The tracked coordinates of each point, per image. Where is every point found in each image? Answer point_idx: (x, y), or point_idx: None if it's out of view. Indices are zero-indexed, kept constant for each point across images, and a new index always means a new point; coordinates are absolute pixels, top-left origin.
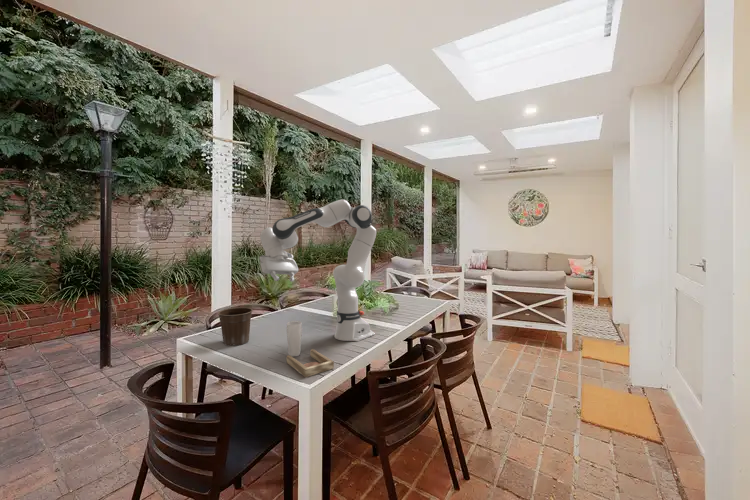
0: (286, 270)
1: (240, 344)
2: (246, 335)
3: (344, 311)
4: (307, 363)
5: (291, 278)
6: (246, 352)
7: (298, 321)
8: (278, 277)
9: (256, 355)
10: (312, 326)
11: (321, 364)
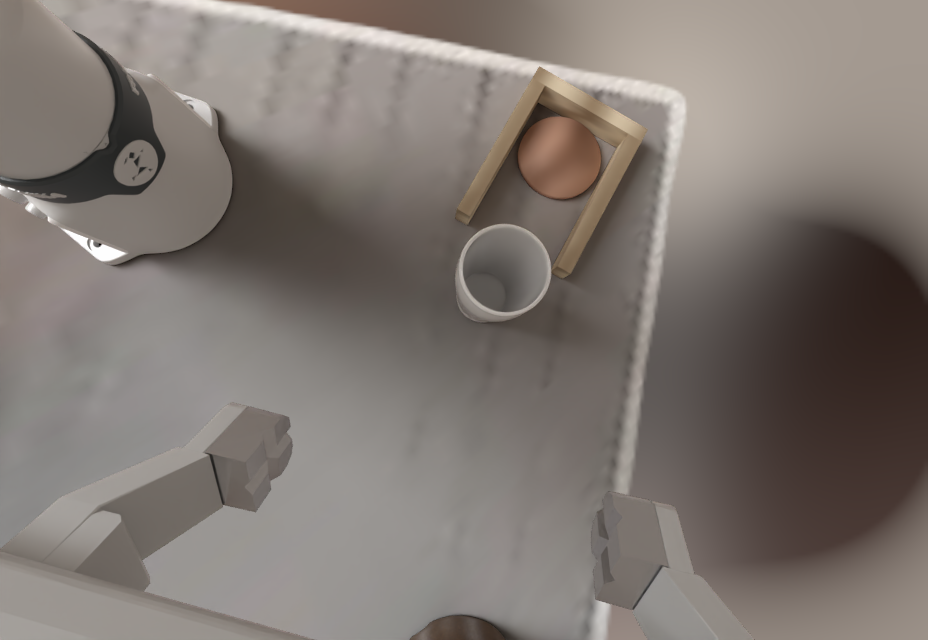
0: (264, 634)
1: (484, 621)
2: (454, 637)
3: (102, 84)
4: (546, 189)
5: (263, 447)
6: (543, 516)
7: (462, 267)
8: (624, 528)
9: (551, 448)
10: (49, 464)
11: (584, 97)
